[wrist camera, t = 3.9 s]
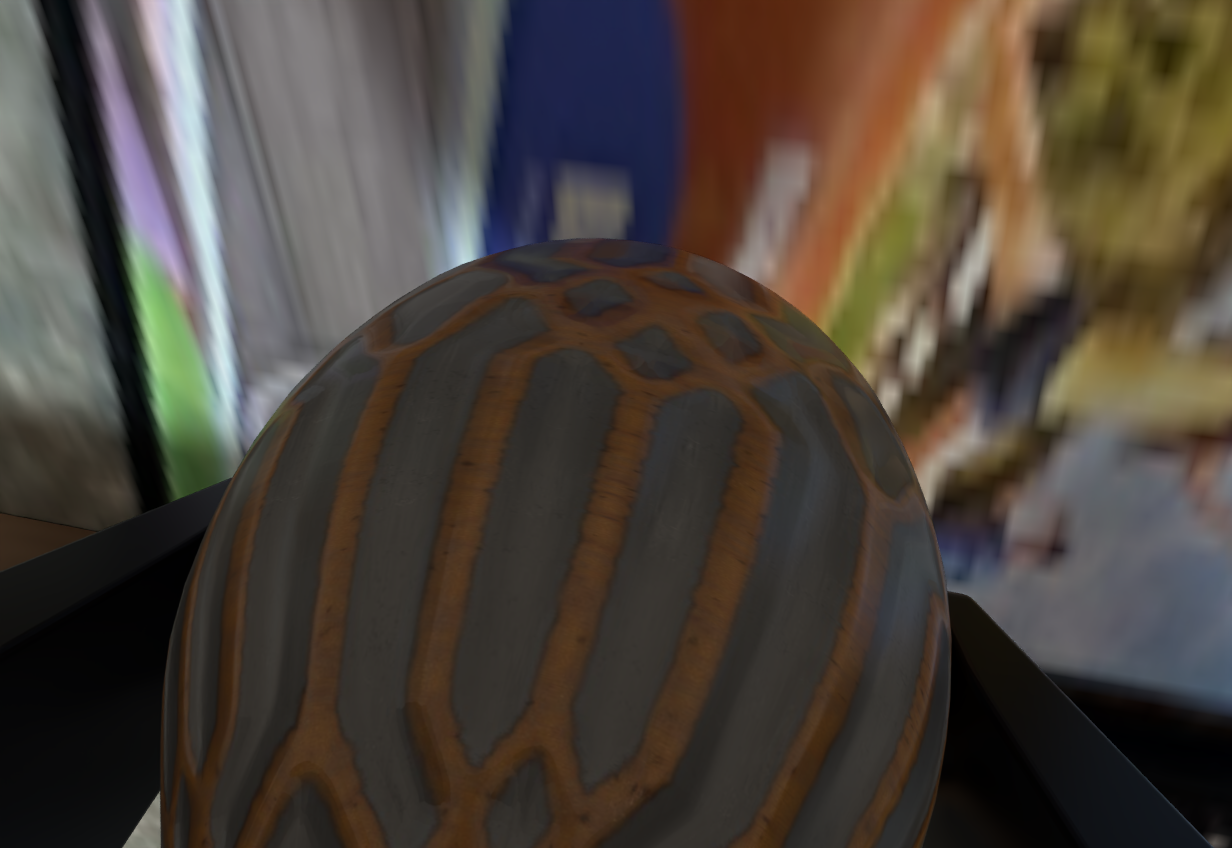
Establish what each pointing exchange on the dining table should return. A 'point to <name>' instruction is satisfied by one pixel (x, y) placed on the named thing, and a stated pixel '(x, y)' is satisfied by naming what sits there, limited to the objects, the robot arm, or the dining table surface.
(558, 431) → the vase
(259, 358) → the dining table surface
